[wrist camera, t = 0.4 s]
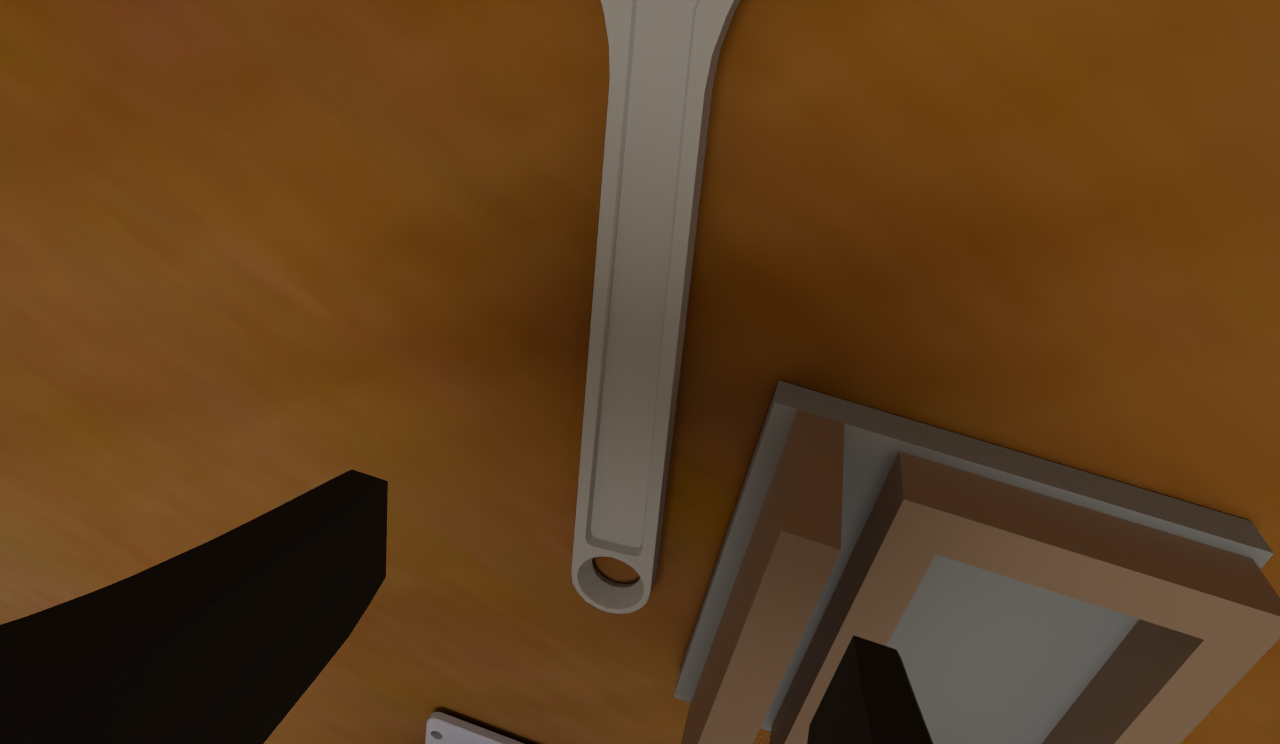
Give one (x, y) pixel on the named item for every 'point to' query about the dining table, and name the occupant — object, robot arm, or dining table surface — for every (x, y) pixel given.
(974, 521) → the stand
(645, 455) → the adjustable wrench
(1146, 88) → the dining table surface
